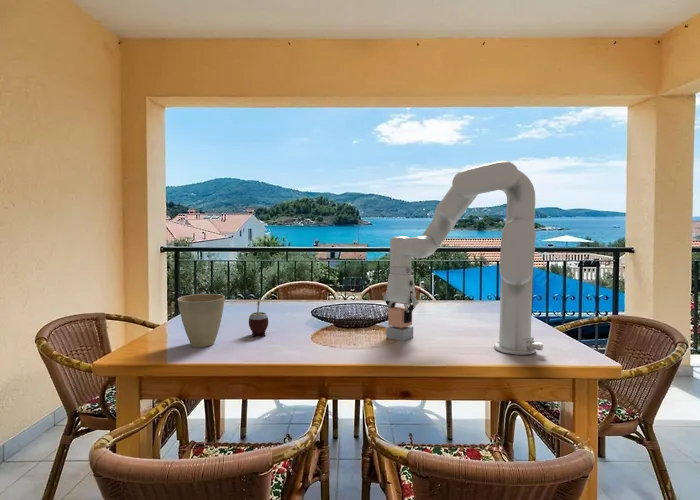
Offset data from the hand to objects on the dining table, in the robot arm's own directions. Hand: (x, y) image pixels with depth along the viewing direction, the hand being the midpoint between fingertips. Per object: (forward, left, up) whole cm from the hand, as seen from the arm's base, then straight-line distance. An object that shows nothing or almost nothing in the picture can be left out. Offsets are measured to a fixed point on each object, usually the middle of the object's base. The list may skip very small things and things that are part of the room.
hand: (400, 320), depth 153 cm
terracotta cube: (0, 0, -2) cm, 2 cm away
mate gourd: (+36, +36, -6) cm, 51 cm away
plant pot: (+39, +56, -6) cm, 69 cm away
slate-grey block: (0, 0, -6) cm, 6 cm away
